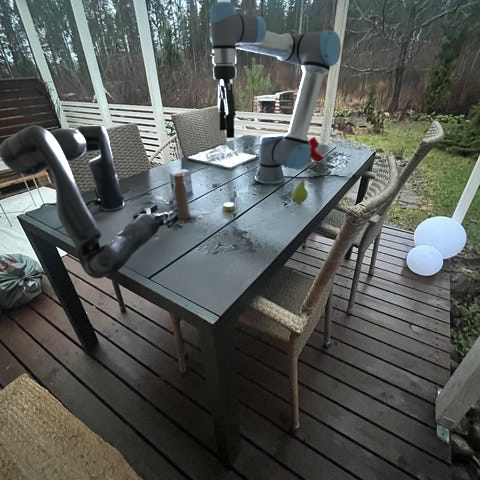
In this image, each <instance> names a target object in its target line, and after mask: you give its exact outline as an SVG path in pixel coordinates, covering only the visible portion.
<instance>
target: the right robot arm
mask: <svg viewBox="0 0 480 480" xmlns="http://www.w3.org/2000/svg"><path fill="white" fill-rule="evenodd" d="M209 12H210V13H209V15H210V17H209V19H210V21H209V22H210V27H209V30H208V36H209V39H210V42H211V49H212V51H211V53H210V57H212V64H213V67H212V75H213V79H214V80H219V81H218V82H217V109H218V117H219V118H218V123H219V131H220V132H221V131H225V138H226V139H235V117H236V105H235V97H234V84H233V82H231V80H235V79H236V78H237V67H236V66H235V65H236V64H237V49H238V50H241V51H242V50H243V51H247V52H252V53H256V54H261V55H267V56H271V57H276V58H277V59H278V60H279V61H281V62H285V63H290V64H292V65H296V66H300V67H301V70H302V77H301V81H300V85H299V89H298V92H297V97H296V101H295V105H294V109H293V113H292V117H291V120H290V124H289V128H288V132H286V133H285V134H282V133H276V134H275V133H274V134H272V133H271V134H266V135H262V136H260V139H259V149H258V150H259V153H258V167H257V171H256V174H255V177H254V181H255V183H258V184H259V185H262V186H263V185H264V186H279V185H281V184H283V183H284V181H285V179H295V180H299V179H300V180H304V179H306V178H307V176H291V175H284V172H283V171H284V170H283V167H285V168H288V169H292V170H293V169H294V170H299V169H302V168H303V167H305V166H306V165H307V163H308V162H309V159H310V157H311V156H310V155H311V151H310V150H311V148H310V146H309V145H308V142H309V138H308V134H309V130H310V126H311V123H312V119H313V115H314V112H315V109H316V105H317V101H318V98H319V95H320V91H321V87H322V84H323V81H324V77H325V76H326V75H328V74H329V73H330V69H331V67H333V66H335V65H336V64H337V63H338V61H339V60H340V57H341V52H342V44H341V38H340V36H339V34H338V33H337V32H336V31H334V30H326V29H324V30H319V31H311V32H303V33H302V32H301V33H294V34H293V33H287V32H286V33H282V34H280V33H277V32H272V31H270V30H269V31H268V30H267V23H266V21H265V20H264V18H263V17H262V16H259V15H256V14H245V13H237V11H236V5H235V3H233V2H230V1H217V2H213V3H212V4H211V5H210V11H209ZM282 166H283V167H282ZM325 174H326V175H321V174H318V175H319V176H316V175H312V176H313V177H309V178H307V179H313V178H320V177H329V176H330V177H336V178H346V177H348V176H350V175H348V176H339V175H340V174H334V175H329V174H330V173H325ZM349 174H353V173H349ZM351 176H352V177H356V174H354V175H351Z"/></svg>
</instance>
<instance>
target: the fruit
mask: <svg viewBox="0 0 480 480" xmlns="http://www.w3.org/2000/svg"><path fill="white" fill-rule="evenodd" d="M307 176H308V177H307ZM307 176H306V177H307V178H304V179H301V181H300V182H298V184H297V185H296V186H295V187H294V188H293V190H292V191H291V198H292V200H293V201H294V202H295V203H297V204H301V203H304V202H305V201H306V200H307V198H308V196H309V195H308V190H307V189H306V184H305V183H306V180H308V179H310V178H309V177H310V176H311V175H310V174H309V175H307Z"/></svg>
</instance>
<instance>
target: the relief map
mask: <svg viewBox="0 0 480 480" xmlns="http://www.w3.org/2000/svg"><path fill="white" fill-rule="evenodd" d="M256 158H257V157H256V155H254V154H248V153H245V152H244V151H243V150H242V148H237V149H235V150H232V149H230V148H229V147H228V146H227V145H226V144H224V145H223V144H220V145H217V147H214V148H212V149H209V150H205V151H199V152H198V153H197V154H194V155H191V156H188V160H191V161H196V162H200V163H203V164H208V165H213V166H215V167H216V166H217V167H221V168H225V169H230V170H231V169H233V168H236V167H238V166H240V165H242V164H245V163H247V162H249V161H252V160H255V159H256Z"/></svg>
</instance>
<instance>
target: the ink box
mask: <svg viewBox="0 0 480 480" xmlns="http://www.w3.org/2000/svg"><path fill="white" fill-rule="evenodd" d="M178 173H181V174H183V176H184V177H183V178H184V182H185V185H186V187H187V196H188V197H191V196H193V195H194V191H193V190H194V189H193V181H192V175H191V173H192V172H191V170H188V169H185V168H183V169H178V170H175V171H172V172H169V173H168V174H169V182H170V187H171V194H172V198H174V199H175V200H176V198H175V191H174V184H175V178H174V175H175V174H178Z"/></svg>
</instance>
